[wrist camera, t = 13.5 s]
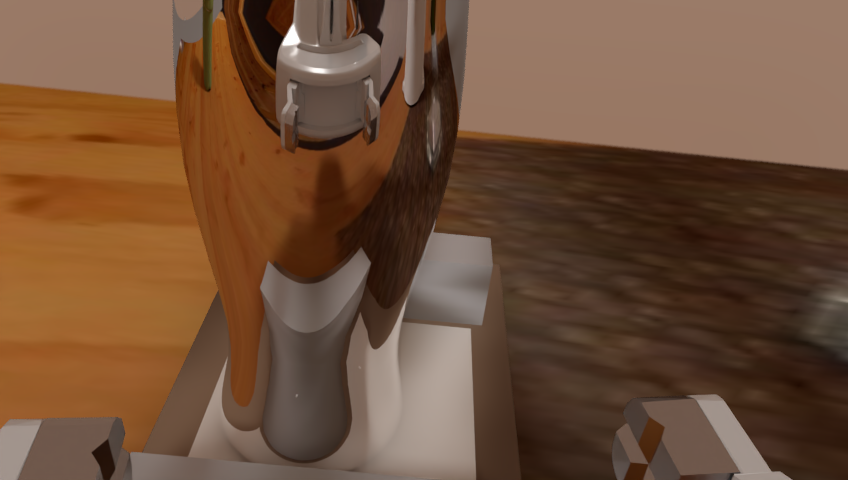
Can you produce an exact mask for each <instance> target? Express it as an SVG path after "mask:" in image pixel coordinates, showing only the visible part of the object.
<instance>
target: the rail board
mask: <svg viewBox="0 0 848 480" xmlns="http://www.w3.org/2000/svg"><path fill="white" fill-rule="evenodd" d="M398 357H399V368H400V376H401V384H402V395H403V408H402V416H401V420H400V423H399V426H398V428H397V430H396V433H395V434H394V436H393V438H392V439H391V441H390V442H389V443H388V445H387V446H386V447H385V448H384V449H383V450H382V451H381V452H380V453H379V454H378V455H377V456H376V457H374V458H373V459H372V460H370V461H369V462H367V463H366V464H364V465H362V466H360V467H358V468H356V469H354V470H351V471H338V470H327V469H316V468H305V467H294V466H283V465H272V464H260V463H251V462H249V461H248V460H246V459H245V458H244V457H243V456H241V455H240V454H239V453H238V452H237V451H236V449H235V448H234V447H233V446H232V444H231V443H230V441H229V440H228V438H227V436H226V434H225V432H224V429H223V426H222V423H221V417H220V399H221V391H222V385H223V380H224V375H225V370H226V364H227V358H228V330H227V323H226V316H225V312H224V309H223V305H222V301H221V298H220V294H219V290H218V292H217V294H216V296H215V298H214V300H213V302H212V304H211V307H210V309H209V311H208V313H207V315H206V317H205V319H204V321H203V324H202V326H201V328H200V330H199V332H198V334H197V336H196V339H195V341H194V343H193V345H192V347H191V349H190V351H189V353H188V356H187V358H186V360H185V362H184V364H183V366H182V368H181V370H180V373H179V375H178V377H177V379H176V381H175V383H174V385H173V388H172V390H171V392H170V394H169V396H168V398H167V400H166V402H165V405H164V407H163V409H162V411H161V413H160V415H159V417H158V420H157V422H156V424H155V426H154V428H153V430H152V432H151V434H150V437H149V439H148V441H147V443H146V445H145V447H144V449H143V452H142V453H138V452H131V454H130V458H131V463H132V480H521V470H520V460H519V451H518V441H517V431H516V421H515V411H514V402H513V392H512V382H511V372H510V362H509V352H508V343H507V333H506V323H505V313H504V303H503V294H502V284H501V274H500V265H499V264H493V263H492V251H491V240H490V238H483V237H473V236H463V235H453V234H443V233H432V235H431V238H430V241H429V244H428V247H427V250H426V253H425V255H424V258H423V261H422V264H421V267H420V269H419V272H418V275H417V278H416V280H415V283H414V286H413V289H412V292H411V294H410V297H409V301H408V304H407V307H406V310H405V313H404V316H403V320H402V325H401V330H400V335H399V346H398Z"/></svg>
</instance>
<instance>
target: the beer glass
mask: <svg viewBox="0 0 848 480" xmlns="http://www.w3.org/2000/svg"><path fill="white" fill-rule="evenodd" d="M468 13H469V0H173V57H174V58H173V62H174V78H175V92H176V110H177V119H178V126H179V134H180V142H181V149H182V157H183V164H184V169H185V173H186V177H187V181H188V185H189V190H190V194H191V198H192V202H193V207H194V211H195V215H196V218H197V221H198V225H199V228H200V231H201V235H202V238H203V242H204V245H205V248H206V252H207V255H208V258H209V261H210V265H211V268H212V271H213V274H214V277H215V281H216V284H217V287H218V290H219V294H220V298H221V301H222V305H223V309H224V312H225V316H226V323H227V330H228V358H227V364H226V370H225V375H224V380H223V385H222V391H221V399H220V417H221V423H222V426H223V429H224V432H225V434H226V436H227V438H228V440H229V441H230V443H231V444H232V446H233V447H234V448H235V449H236V451H237V452H238V453H239V454H240V455H241V456H243V457H244V458H245V459H246V460H248V461H249V462H251V463H260V464H272V465H283V466H294V467H305V468H316V469H327V470H338V471H351V470H354V469H356V468H358V467H360V466H362V465H364V464H366V463H367V462H369V461H370V460H372V459H373V458H374V457H376V456H377V455H378V454H379V453H380V452H381V451H382V450H383V449H384V448H385V447H386V446H387V445H388V443H389V442H390V441H391V439H392V438H393V436H394V434H395V433H396V430H397V428H398V426H399V423H400V420H401V416H402V408H403V395H402V384H401V376H400V368H399V357H398V346H399V335H400V330H401V325H402V320H403V316H404V313H405V310H406V307H407V304H408V301H409V297H410V294H411V292H412V289H413V286H414V283H415V280H416V278H417V275H418V272H419V269H420V267H421V264H422V261H423V258H424V255H425V253H426V250H427V247H428V244H429V241H430V238H431V235H432V233H433V230H434V227H435V224H436V221H437V218H438V214H439V211H440V207H441V204H442V200H443V197H444V193H445V190H446V186H447V183H448V179H449V175H450V170H451V165H452V159H453V154H454V149H455V143H456V138H457V132H458V125H459V117H460V109H461V101H462V92H463V84H464V73H465V59H466V46H467V32H468Z"/></svg>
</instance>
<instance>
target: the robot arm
mask: <svg viewBox="0 0 848 480" xmlns="http://www.w3.org/2000/svg"><path fill="white" fill-rule="evenodd" d="M623 414H624V416H625V418H626V421H627V423H626V424H625V425H624V426H623V427H621V428H620V429H619V430H618V431H616V434H615V437H614V441H613V444H612V462H613V466H614V471H615V474H616V477H617V479H618V480H792V479H790V478H789V477H787V476H786V475H784V474H783V473H781V472H772V471H771V470H770V468H769V467H768V465H767V464H766V462H765V461H764V459H763V458H762V456H761V455H760V453H759V452H758V450H757V449H756V447H755V446H754V444H753V443H752V442H751V440H750V439H749V437H748V436H747V434H746V433H745V431H744V430H743V428H742V427H741V425H740V424H739V422H738V421H737V419H736V418H735V416H734V415H733V413H732V412H731V410H730V409H729V407H728V406H727V404H726V403H725V401H724V400H723V399H722V398H721V397H719V396H718V395H716V394H714V395H689V396H684V395H682V396H662V397H641V398H632V399H631V400H630V401H629V402H628V403H627V405H626V407H625V410H624V412H623ZM124 436H125V430H124V426H123V422H122V419H121V418H118V417H103V418H47V419H10V420H9V421H8V422H7V423H6V424H5V425H4V426H3V427H2V428H1V429H0V480H132V463H131V458H130V453H129V452H127V451H126V450H124V449H123V448H122V444H123V440H124Z"/></svg>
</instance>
